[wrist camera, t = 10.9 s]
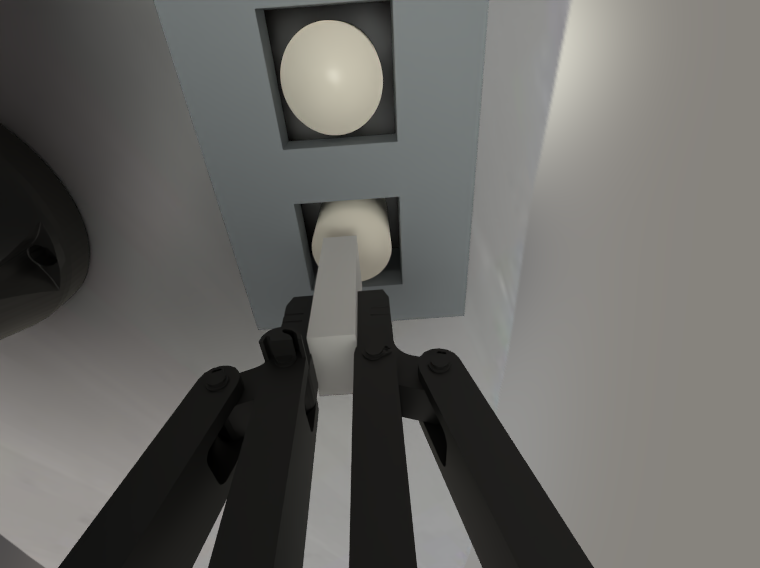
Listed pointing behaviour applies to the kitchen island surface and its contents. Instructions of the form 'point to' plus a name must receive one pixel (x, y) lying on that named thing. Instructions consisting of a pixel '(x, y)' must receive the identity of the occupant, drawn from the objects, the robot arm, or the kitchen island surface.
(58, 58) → the kitchen island surface
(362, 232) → the ivory egg
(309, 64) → the cream egg
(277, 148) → the grey socket block
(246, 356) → the kitchen island surface
